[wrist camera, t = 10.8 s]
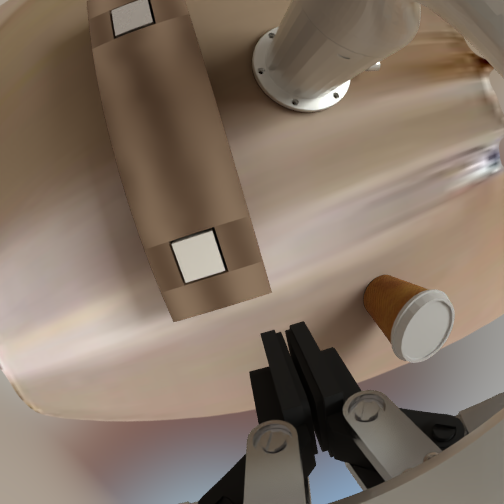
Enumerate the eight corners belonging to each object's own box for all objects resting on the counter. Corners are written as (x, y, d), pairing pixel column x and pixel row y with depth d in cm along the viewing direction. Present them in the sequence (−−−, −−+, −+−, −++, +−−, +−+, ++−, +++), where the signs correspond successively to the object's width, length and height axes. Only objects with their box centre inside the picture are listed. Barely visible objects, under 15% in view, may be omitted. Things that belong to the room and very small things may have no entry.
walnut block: (178, -7, 26) (175, -31, 20) (262, 274, 36) (271, 292, 31) (101, 21, 25) (86, 1, 19) (179, 300, 36) (173, 322, 30)
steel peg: (154, 18, 26) (146, -3, 20) (160, 42, 27) (152, 21, 22) (123, 30, 26) (111, 10, 20) (128, 53, 27) (115, 35, 21)
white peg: (212, 222, 33) (212, 230, 28) (223, 256, 34) (225, 270, 29) (178, 233, 33) (171, 244, 28) (189, 266, 34) (185, 282, 29)
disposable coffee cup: (345, 322, 40) (386, 368, 28) (364, 259, 38) (415, 290, 26) (394, 324, 42) (438, 363, 30) (413, 268, 39) (466, 296, 28)
